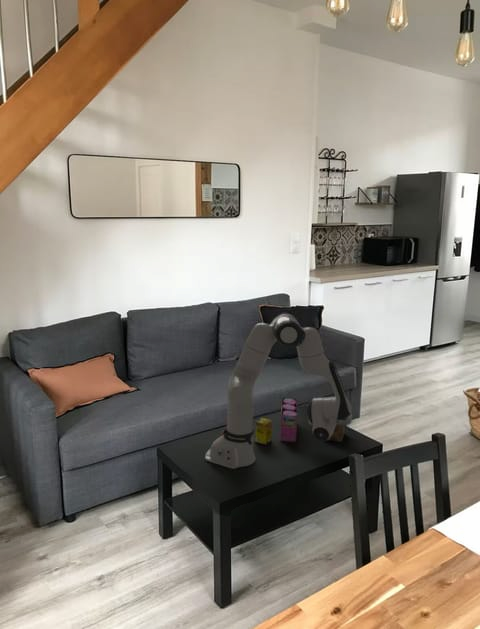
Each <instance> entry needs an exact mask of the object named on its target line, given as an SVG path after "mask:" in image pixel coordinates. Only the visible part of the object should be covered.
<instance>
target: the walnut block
mask: <svg viewBox="0 0 480 629" xmlns="http://www.w3.org/2000/svg"><path fill="white" fill-rule="evenodd" d="M345 429H346V425H342V424H337V425H336V427H335V429H334V432H333V434H332V436H331V437H330V439H328V440H327V441H333V442H340V443H342V442H343V438H344V436H345V431H346V430H345Z"/></svg>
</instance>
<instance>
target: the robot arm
mask: <svg viewBox="0 0 480 629" xmlns="http://www.w3.org/2000/svg"><path fill="white" fill-rule="evenodd" d="M276 342H278V343H279V344H280V345H283V346H286V347H296V350H297V356H298V362H299V364H300V367H301V368H302V369H303V370H304V371H305V372H307V373H309V374H312V375H314V376H315V375H316V376H319V377H322V378H324V379H326V380H328V381H329V383H330V385H331V389H332V391H333V393H334V396H335V397H330V396H328V397H327V396H326V397H324V396H323V397H313V398H311V399H310V401H309V403H308V404H307V410H306V411H307V420H308V424H309V425H310V426H312V436H313V438H314V439H315V440H317V442H318V441H319V442H326V441H329V440H328V439H330V437H331V436H332V434H333V432H334V429H335V427H336V425H337V424H342V425H345V426H348V425H350V424H352V419H353V413H352V405H351V402H350V399H349V397H348V395H347V393H346V390H345V388H344V385H343V383H342V380H341V377H340V374H339V372H338V369H337V367H336V364H335V363H334V362H332V361H331V360H329V359H328V357H327V356H326V353H325V349H324V347H323V346H324V345H323V342H322V338H321V336H320V333H319V330H318V329H316V328H315V327H312V326H306V327H302V326H301V325H300V322H299V321H298V320H297V318H296V317H295V316H294V315H293V314H292V313H290V312H281V313H279V314H277V315H276V316H275V317H274V318H272V319H271V320H270V321H269V322H268V323H265V322H258V323H256V324H255V325H254V326H253V328H252V329H251V331H250V333H249V334H248V336H247V339H246V341H245V344H244V346H243V348H242V350H241V353H240V355H239V358H238V359H237V362H236V363H235V364H236V365H235V366H234V368H233V371H232V372H231V375H230V378H229V380H228V385H227V392H226V394H227V395H226V400H227V403H226V404H227V424H226V425H225V427H224V429H223V430H222V433H221V434H222V435H221V436H219V437H218V438H217V439H215V440H214V441H213V443H212V444H211V445H210V449H208V450H207V452H206V453H205V455H204V456H205V457H204V460H205V461H206V462H210V463H212V464H217V465H218V466H223V467H226V468H229V469H231V470H233V469H234V470H235V469H237V468H243V467H247V466H252V464H254V463H255V462H256V461H257V460H256V456H255V452H254V441H255V440H254V436H255V434H254V427H253V422H254V388H255V384H256V382H257V380H258V377H260V374H261V373H262V371H263V369H264V367H265V364H266V363H267V362H266V361H267V360H268V358H269V355H270V353H271V349H272V347H273V346H274V345H275V343H276Z"/></svg>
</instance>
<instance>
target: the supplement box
mask: <svg viewBox="0 0 480 629" xmlns="http://www.w3.org/2000/svg"><path fill="white" fill-rule="evenodd" d="M272 432H273V420H271V419H268V418H264V417H261V418H260V419H258V420H256V421H255V434H254V436H255V440H254V441H255V442H254V443H255V444H259V445H261V446H267V445H268V444H269V443H272Z"/></svg>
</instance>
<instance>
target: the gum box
mask: <svg viewBox="0 0 480 629" xmlns="http://www.w3.org/2000/svg"><path fill="white" fill-rule="evenodd" d="M280 411H281V412H280V436H279V440H280V442H295V443H296V442H297V432H298V431H297V430H298V429H297V428H298V399H297V398H295V397H294V398H285V397H282V399H281V410H280Z"/></svg>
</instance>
